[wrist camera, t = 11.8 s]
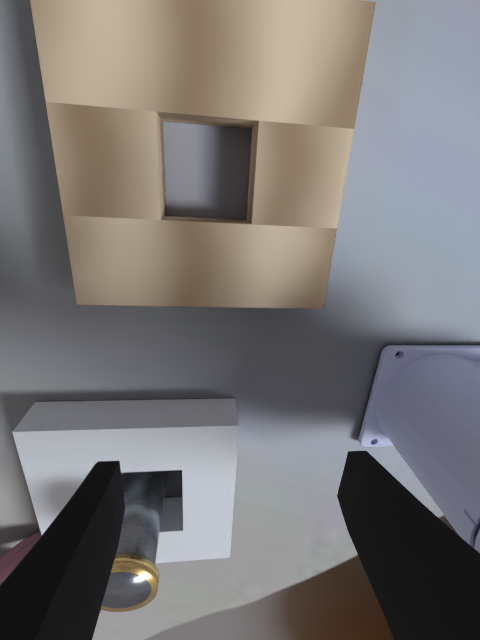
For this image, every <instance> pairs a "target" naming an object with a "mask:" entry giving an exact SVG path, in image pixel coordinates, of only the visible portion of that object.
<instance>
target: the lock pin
mask: <svg viewBox="0 0 480 640" xmlns="http://www.w3.org/2000/svg"><path fill="white" fill-rule="evenodd" d="M121 478H122V486H123V494H124V502H125V512H124V518H123V523H122V529H121V534H120V539H119V545H118V549H117V553H116V556H115V560H114V563H113V567H112V570H111V574H110V578H109V581H108V585H107V588H106V592H105V595H104V599H103V602H102V606H101V610H105V611H111V612H124V611H131V610H135V609H138V608H141V607H143V606H145V605H147V604H148V603H150V602H151V601H152V600H153V599H154V598H155V596H156V594H157V591H158V582H159V571H158V569H157V567H156V566H155V561H156V553H157V546H158V539H159V531H160V524H161V517H162V509H163V502H164V495H165V487H166V480H167V471H148V472H125V473H122V476H121Z"/></svg>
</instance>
